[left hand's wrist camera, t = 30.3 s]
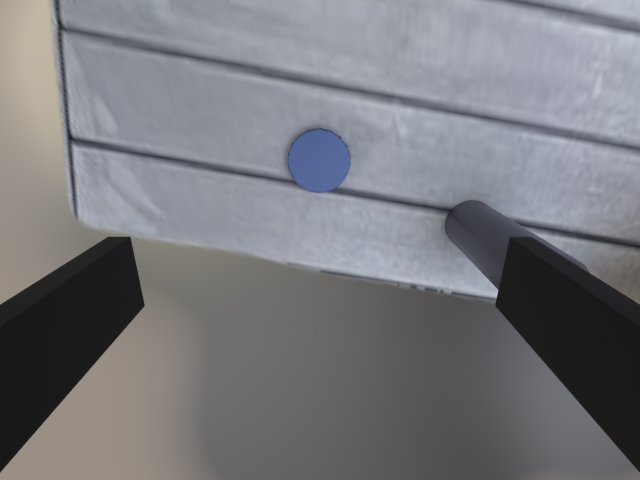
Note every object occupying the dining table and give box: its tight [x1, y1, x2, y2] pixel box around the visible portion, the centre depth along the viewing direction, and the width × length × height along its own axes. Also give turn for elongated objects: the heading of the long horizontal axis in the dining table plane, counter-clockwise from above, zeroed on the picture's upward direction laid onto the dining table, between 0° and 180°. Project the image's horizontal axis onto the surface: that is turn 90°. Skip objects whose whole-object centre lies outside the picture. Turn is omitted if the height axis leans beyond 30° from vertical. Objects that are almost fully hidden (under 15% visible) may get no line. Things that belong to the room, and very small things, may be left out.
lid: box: [288, 128, 350, 193], centre depth 38 cm, size 7×7×2 cm
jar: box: [445, 201, 589, 290], centre depth 33 cm, size 6×6×17 cm
